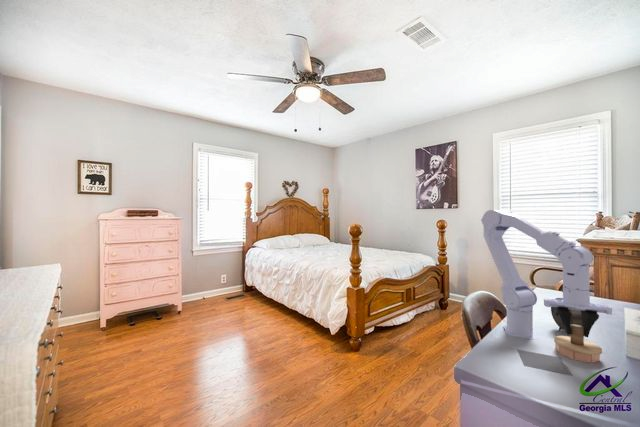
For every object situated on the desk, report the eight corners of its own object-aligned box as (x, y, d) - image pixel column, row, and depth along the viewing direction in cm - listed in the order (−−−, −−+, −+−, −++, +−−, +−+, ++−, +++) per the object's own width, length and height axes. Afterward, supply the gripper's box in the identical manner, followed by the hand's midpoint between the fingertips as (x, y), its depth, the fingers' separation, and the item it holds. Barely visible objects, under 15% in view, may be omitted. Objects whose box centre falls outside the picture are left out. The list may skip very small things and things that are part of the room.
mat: (517, 351, 81) (517, 349, 81) (560, 359, 76) (560, 357, 76) (524, 367, 72) (524, 365, 72) (573, 378, 68) (573, 375, 68)
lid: (551, 335, 85) (551, 317, 85) (596, 344, 80) (596, 324, 80) (557, 348, 77) (557, 327, 77) (607, 358, 71) (606, 336, 71)
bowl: (552, 346, 85) (552, 336, 85) (590, 352, 80) (590, 342, 80) (562, 359, 77) (562, 348, 77) (604, 367, 73) (604, 355, 73)
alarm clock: (587, 339, 89) (586, 290, 89) (568, 338, 90) (567, 289, 90) (564, 326, 100) (563, 282, 100) (547, 325, 101) (547, 282, 101)
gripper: (548, 288, 79) (548, 334, 78) (617, 294, 72) (618, 345, 72) (541, 282, 85) (542, 326, 85) (604, 288, 78) (605, 335, 78)
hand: (576, 334), depth 79 cm, fingers open, 3 cm apart
